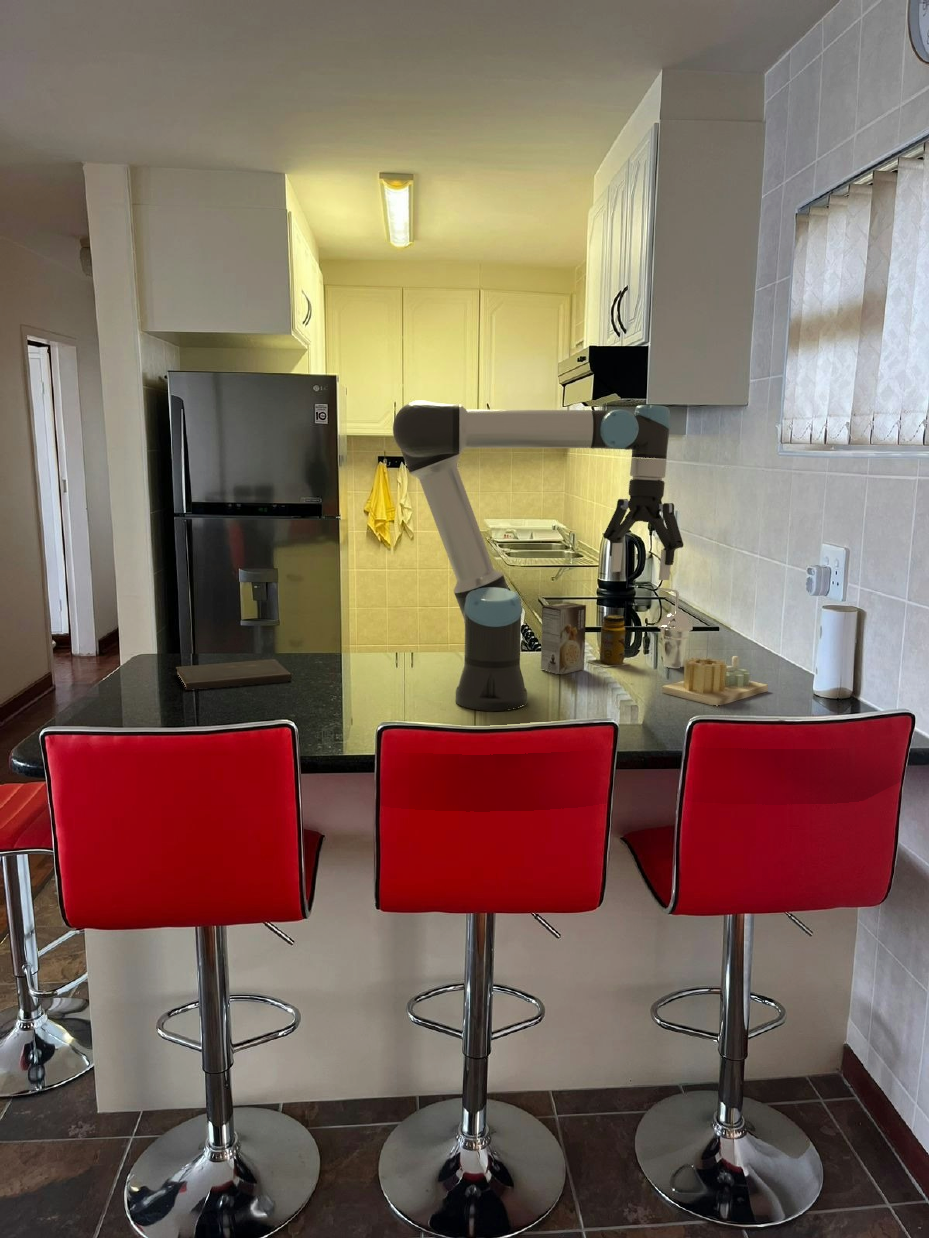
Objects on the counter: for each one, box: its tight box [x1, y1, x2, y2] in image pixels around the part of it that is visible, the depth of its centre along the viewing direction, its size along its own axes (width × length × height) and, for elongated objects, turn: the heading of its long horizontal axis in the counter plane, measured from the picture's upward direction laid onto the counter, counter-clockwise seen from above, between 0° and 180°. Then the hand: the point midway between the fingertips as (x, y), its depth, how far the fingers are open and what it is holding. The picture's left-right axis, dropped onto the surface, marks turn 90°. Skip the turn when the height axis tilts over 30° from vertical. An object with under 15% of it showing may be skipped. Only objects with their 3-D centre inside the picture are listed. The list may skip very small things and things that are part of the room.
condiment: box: [587, 614, 631, 668], centre depth 226 cm, size 7×8×12 cm
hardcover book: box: [175, 658, 292, 690], centre depth 206 cm, size 16×23×2 cm
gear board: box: [661, 680, 769, 707], centre depth 201 cm, size 20×14×2 cm
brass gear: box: [683, 657, 728, 694], centre depth 197 cm, size 9×9×6 cm
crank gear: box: [726, 655, 751, 687], centre depth 204 cm, size 9×9×6 cm
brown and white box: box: [540, 601, 587, 675], centre depth 217 cm, size 9×6×16 cm
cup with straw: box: [656, 586, 693, 669], centre depth 223 cm, size 8×9×20 cm
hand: (639, 575), depth 199 cm, fingers open, 13 cm apart
